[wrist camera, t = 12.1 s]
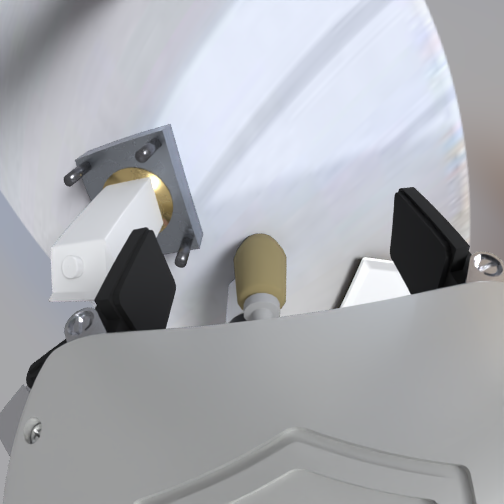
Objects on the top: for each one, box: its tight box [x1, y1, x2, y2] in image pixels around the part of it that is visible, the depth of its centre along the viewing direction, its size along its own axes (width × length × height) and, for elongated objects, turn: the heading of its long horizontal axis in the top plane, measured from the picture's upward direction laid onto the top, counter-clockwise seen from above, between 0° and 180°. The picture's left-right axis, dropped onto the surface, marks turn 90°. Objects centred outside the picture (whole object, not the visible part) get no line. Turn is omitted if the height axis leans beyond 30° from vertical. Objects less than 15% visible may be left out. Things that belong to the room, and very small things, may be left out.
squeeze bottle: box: [234, 234, 286, 321], centre depth 41 cm, size 8×8×18 cm
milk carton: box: [49, 177, 163, 302], centre depth 31 cm, size 7×7×19 cm
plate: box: [340, 257, 411, 308], centre depth 54 cm, size 19×19×2 cm
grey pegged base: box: [64, 124, 203, 268], centre depth 38 cm, size 18×14×9 cm
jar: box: [226, 280, 247, 323], centre depth 48 cm, size 9×8×12 cm
